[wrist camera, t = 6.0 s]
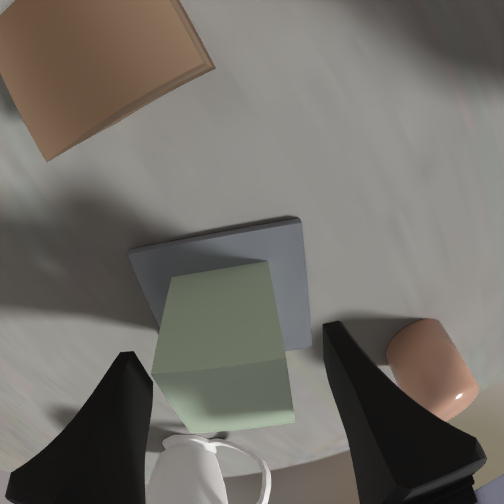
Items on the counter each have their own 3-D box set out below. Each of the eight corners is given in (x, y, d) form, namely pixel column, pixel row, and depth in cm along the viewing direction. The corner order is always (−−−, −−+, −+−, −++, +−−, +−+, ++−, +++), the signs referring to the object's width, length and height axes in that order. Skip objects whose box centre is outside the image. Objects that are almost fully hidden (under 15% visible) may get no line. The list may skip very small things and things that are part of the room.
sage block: (279, 330, 15) (295, 422, 11) (197, 342, 15) (191, 433, 11) (268, 260, 13) (286, 358, 9) (171, 277, 13) (150, 374, 9)
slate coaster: (299, 217, 13) (301, 222, 12) (310, 340, 16) (312, 346, 16) (129, 249, 13) (126, 254, 12) (179, 360, 16) (178, 365, 16)
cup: (128, 432, 21) (116, 523, 14) (242, 409, 19) (249, 524, 12) (180, 463, 25) (177, 540, 18) (281, 444, 23) (293, 533, 16)
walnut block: (166, -22, 8) (123, -77, 3) (215, 68, 10) (203, 63, 5) (70, 38, 8) (-17, 32, 4) (115, 123, 10) (46, 162, 6)
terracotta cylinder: (448, 311, 16) (489, 374, 12) (435, 354, 18) (465, 413, 14) (389, 328, 16) (424, 401, 12) (381, 371, 18) (406, 436, 14)
